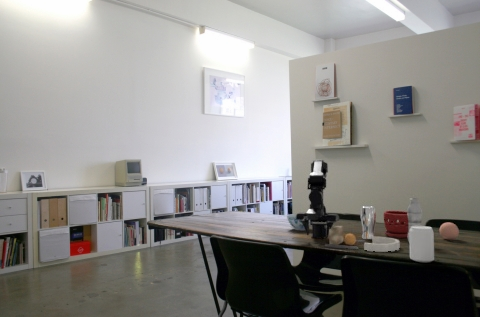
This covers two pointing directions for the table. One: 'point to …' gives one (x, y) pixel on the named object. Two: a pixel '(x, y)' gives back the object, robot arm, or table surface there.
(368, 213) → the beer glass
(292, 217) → the chinaware
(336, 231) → the launcher plunger
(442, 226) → the toy ball
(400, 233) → the plant pot
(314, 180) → the robot arm
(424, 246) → the beverage can
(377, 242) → the ring
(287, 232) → the table surface
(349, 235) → the rubber ball
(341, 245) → the launcher rails
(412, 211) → the plastic bottle
